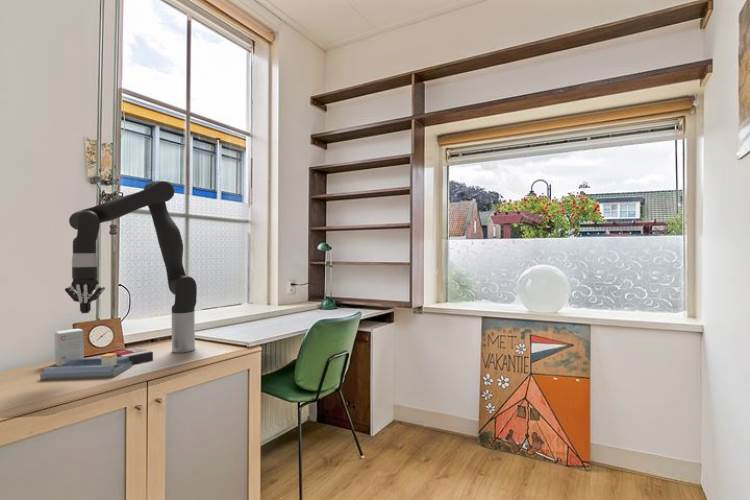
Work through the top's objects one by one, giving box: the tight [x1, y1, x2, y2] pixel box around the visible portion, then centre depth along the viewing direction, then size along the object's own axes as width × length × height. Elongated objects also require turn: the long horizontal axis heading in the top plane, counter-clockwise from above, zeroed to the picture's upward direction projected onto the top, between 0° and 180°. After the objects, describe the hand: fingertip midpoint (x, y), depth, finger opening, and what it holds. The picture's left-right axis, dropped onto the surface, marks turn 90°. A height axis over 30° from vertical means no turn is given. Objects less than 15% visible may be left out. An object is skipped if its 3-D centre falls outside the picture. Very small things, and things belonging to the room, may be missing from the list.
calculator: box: [110, 346, 154, 366], centre depth 163 cm, size 11×4×15 cm
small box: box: [54, 328, 85, 367], centre depth 158 cm, size 8×6×13 cm
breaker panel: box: [39, 357, 133, 381], centre depth 146 cm, size 13×24×4 cm, turn 96°
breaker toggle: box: [100, 353, 117, 366], centre depth 147 cm, size 4×4×4 cm
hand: (85, 312), depth 146 cm, fingers closed
